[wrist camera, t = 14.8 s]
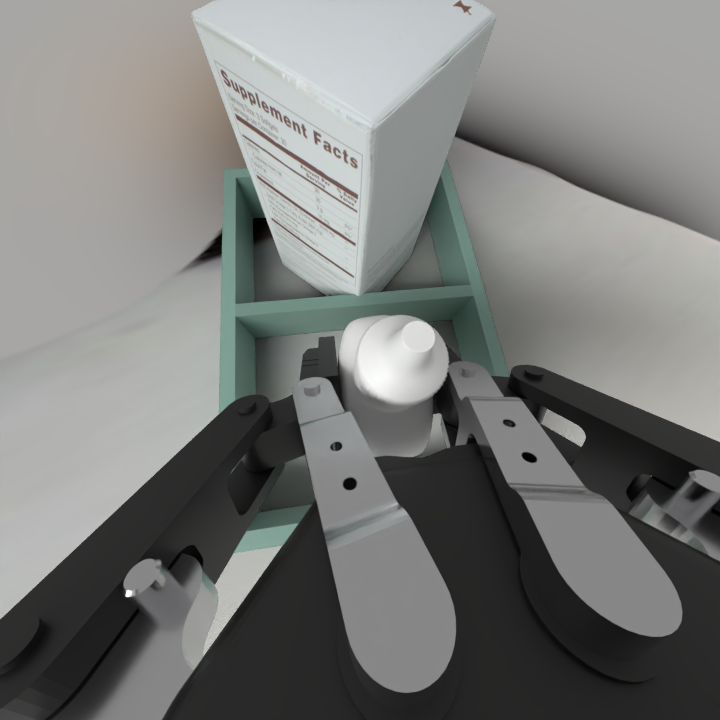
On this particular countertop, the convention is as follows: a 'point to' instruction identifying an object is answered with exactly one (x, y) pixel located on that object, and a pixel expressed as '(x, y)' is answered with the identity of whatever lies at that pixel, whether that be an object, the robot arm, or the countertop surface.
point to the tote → (340, 311)
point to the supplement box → (344, 120)
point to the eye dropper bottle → (392, 380)
